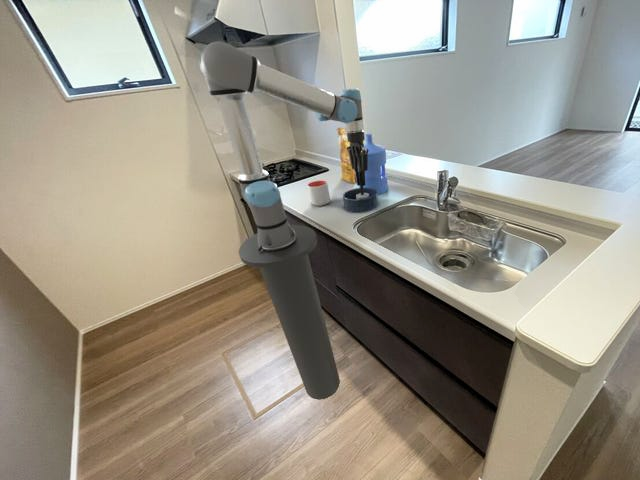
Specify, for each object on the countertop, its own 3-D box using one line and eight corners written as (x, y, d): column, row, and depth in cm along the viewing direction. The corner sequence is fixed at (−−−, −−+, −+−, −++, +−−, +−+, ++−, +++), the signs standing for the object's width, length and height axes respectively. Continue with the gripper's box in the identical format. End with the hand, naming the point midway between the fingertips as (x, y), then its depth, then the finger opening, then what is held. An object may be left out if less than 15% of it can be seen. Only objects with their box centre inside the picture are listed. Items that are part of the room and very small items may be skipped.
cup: (318, 198, 159) (314, 179, 153) (334, 200, 155) (331, 180, 149) (307, 205, 152) (303, 186, 146) (323, 207, 148) (319, 187, 142)
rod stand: (361, 201, 141) (357, 164, 131) (353, 198, 146) (349, 162, 136) (372, 197, 144) (368, 161, 134) (364, 194, 149) (360, 159, 139)
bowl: (358, 215, 136) (356, 203, 132) (337, 206, 147) (336, 195, 143) (385, 204, 143) (384, 192, 140) (364, 196, 154) (362, 185, 151)
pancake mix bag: (348, 175, 188) (341, 126, 172) (362, 181, 174) (357, 129, 158) (338, 177, 186) (331, 128, 170) (352, 184, 172) (346, 131, 156)
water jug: (364, 198, 153) (358, 139, 136) (355, 189, 165) (348, 134, 149) (392, 192, 156) (389, 134, 140) (382, 183, 168) (378, 129, 152)
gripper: (372, 130, 124) (377, 186, 138) (352, 128, 134) (358, 180, 148) (358, 134, 121) (364, 190, 135) (338, 131, 131) (346, 184, 144)
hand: (361, 185), depth 141 cm, fingers closed on rod stand, 2 cm apart
